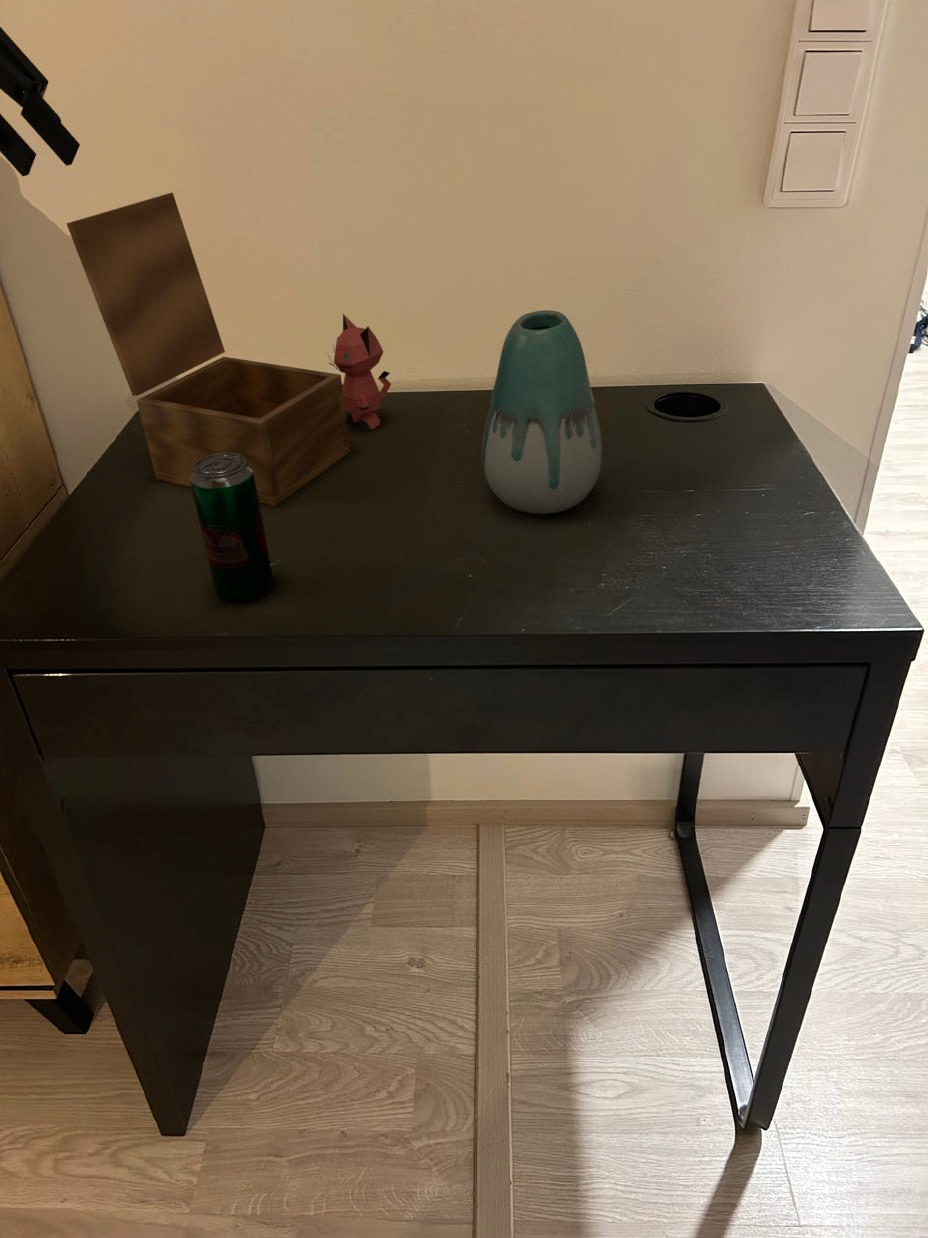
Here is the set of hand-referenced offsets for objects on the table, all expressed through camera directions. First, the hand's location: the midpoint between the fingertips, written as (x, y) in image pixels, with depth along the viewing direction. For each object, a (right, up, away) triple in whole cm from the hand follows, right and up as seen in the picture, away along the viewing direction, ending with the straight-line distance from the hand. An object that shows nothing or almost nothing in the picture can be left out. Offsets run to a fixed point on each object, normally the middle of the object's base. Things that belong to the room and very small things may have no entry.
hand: (51, 159), depth 94 cm
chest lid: (+9, -12, +3) cm, 16 cm away
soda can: (+22, -43, -11) cm, 49 cm away
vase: (+49, -34, 0) cm, 59 cm away
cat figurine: (+29, -22, +18) cm, 41 cm away
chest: (+18, -29, +10) cm, 35 cm away
